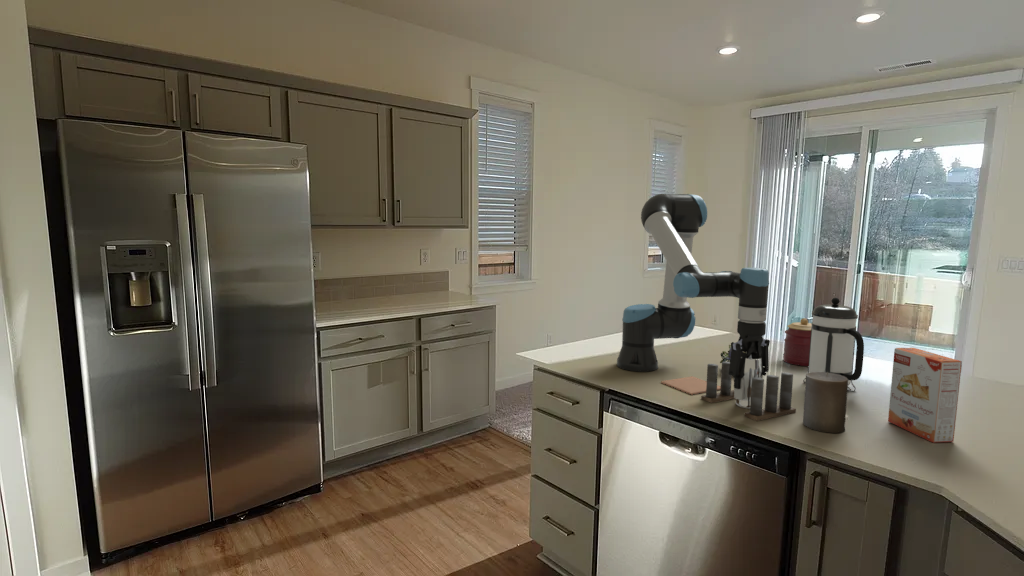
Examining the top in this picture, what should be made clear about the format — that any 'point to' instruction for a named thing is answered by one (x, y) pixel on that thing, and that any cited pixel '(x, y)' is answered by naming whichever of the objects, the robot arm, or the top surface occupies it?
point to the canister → (797, 343)
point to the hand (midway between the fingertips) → (747, 397)
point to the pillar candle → (825, 402)
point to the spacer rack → (752, 392)
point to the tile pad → (689, 385)
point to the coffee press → (835, 341)
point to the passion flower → (726, 355)
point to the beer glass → (750, 379)
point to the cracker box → (925, 393)
